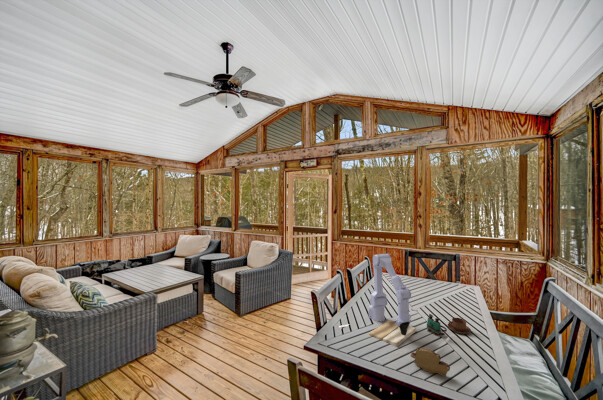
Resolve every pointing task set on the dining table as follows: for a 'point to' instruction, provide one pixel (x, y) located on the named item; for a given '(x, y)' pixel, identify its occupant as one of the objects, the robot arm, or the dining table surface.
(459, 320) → the brown cowboy hat
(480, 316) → the dining table surface
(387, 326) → the board
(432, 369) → the wooden carving
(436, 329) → the binoculars
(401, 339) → the maple plank
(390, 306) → the dining table surface
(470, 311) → the dining table surface
